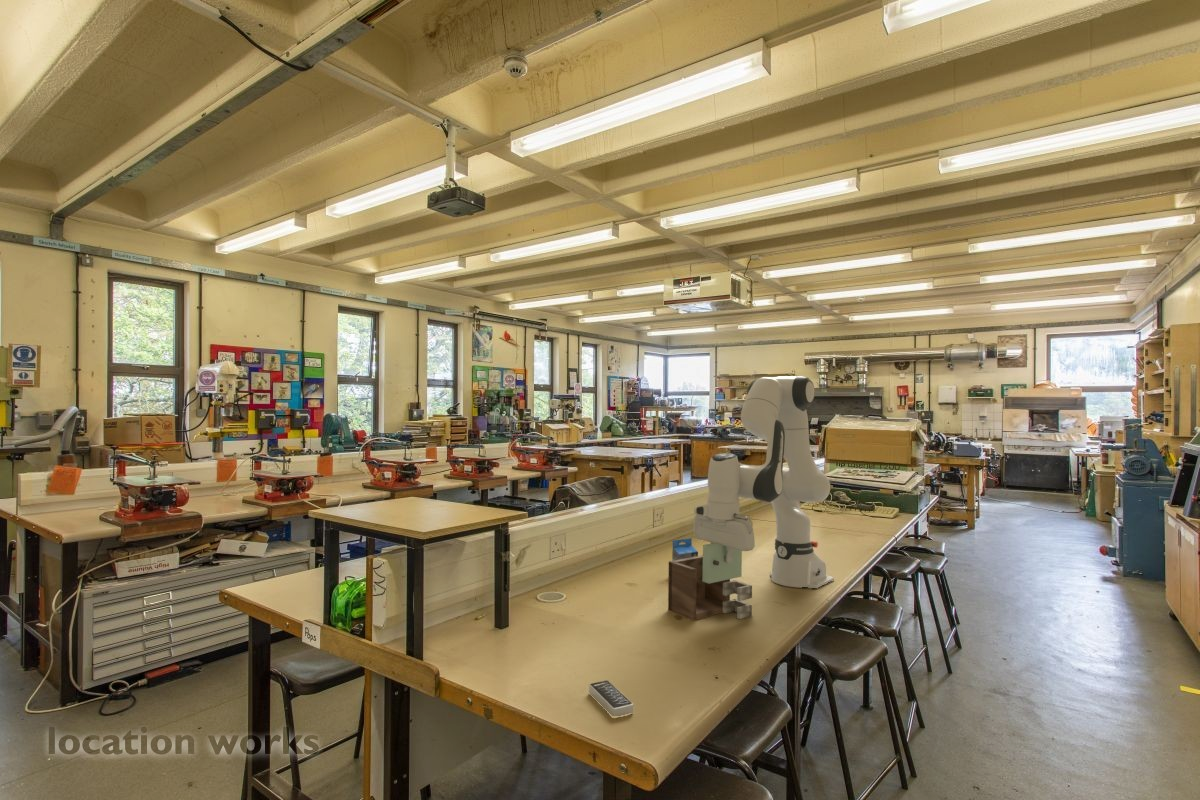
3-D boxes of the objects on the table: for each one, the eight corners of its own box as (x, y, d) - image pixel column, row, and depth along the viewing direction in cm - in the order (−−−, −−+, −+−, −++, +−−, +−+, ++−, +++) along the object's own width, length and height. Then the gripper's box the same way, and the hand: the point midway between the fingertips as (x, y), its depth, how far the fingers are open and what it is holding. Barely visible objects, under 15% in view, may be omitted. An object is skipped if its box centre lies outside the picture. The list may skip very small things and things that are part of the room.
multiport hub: (613, 721, 106) (613, 709, 106) (588, 695, 116) (588, 683, 116) (633, 716, 108) (634, 704, 108) (607, 690, 118) (607, 679, 118)
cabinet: (709, 599, 175) (710, 554, 176) (751, 615, 162) (752, 566, 162) (668, 609, 166) (668, 561, 166) (709, 627, 152) (709, 575, 152)
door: (734, 574, 165) (735, 539, 165) (744, 577, 161) (745, 542, 162) (702, 581, 157) (702, 544, 157) (712, 584, 154) (712, 547, 154)
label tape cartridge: (678, 578, 198) (678, 542, 198) (671, 575, 201) (671, 540, 202) (698, 574, 202) (698, 540, 203) (691, 572, 206) (691, 538, 206)
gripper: (760, 516, 154) (759, 567, 153) (705, 505, 170) (705, 551, 170) (744, 518, 150) (743, 570, 150) (690, 507, 167) (689, 554, 166)
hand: (722, 560), depth 160 cm, fingers closed on door, 2 cm apart
